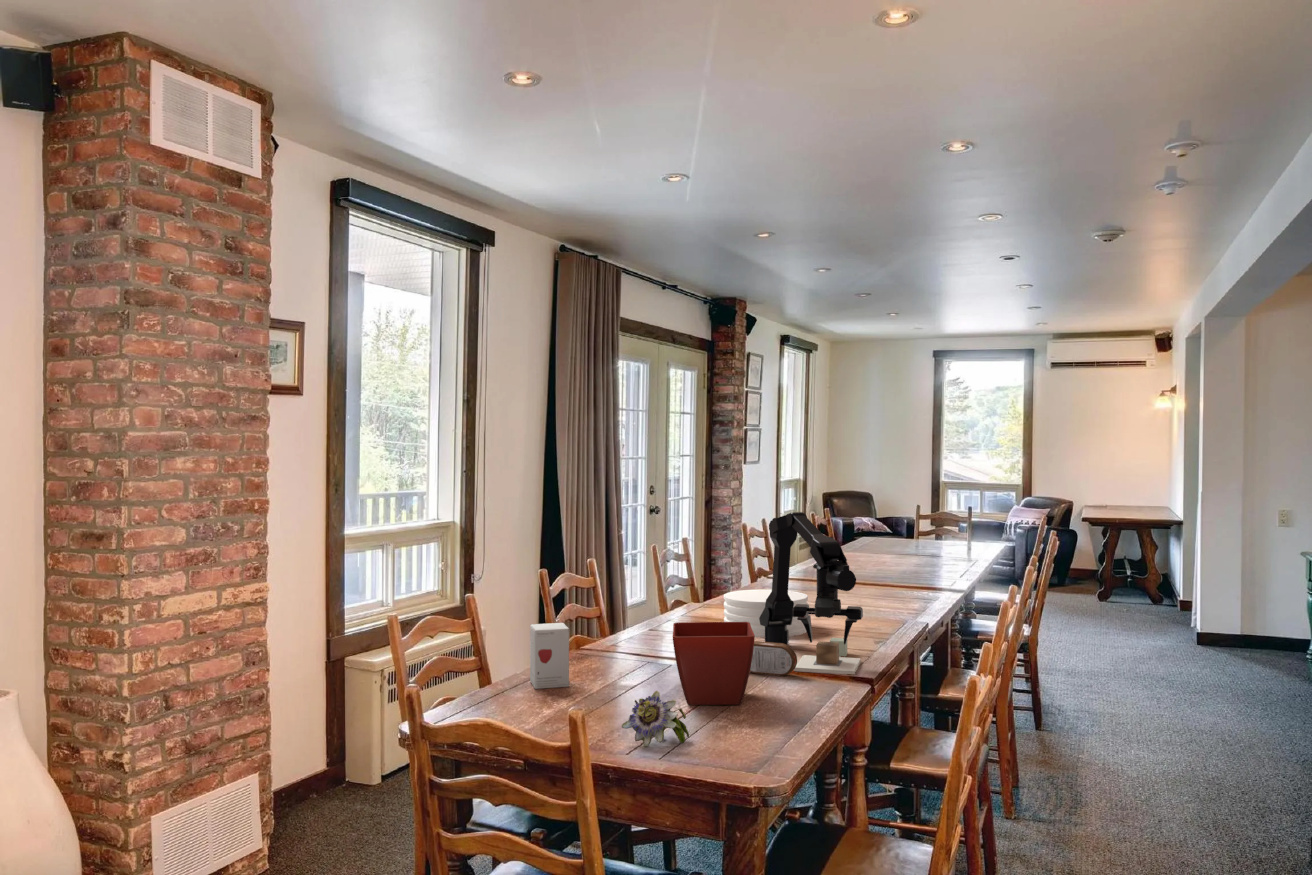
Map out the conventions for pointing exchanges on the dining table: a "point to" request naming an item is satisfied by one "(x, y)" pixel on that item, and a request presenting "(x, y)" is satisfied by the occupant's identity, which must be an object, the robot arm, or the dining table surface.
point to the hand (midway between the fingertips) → (827, 643)
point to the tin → (773, 659)
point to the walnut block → (827, 653)
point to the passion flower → (655, 720)
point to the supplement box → (549, 655)
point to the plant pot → (713, 660)
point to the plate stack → (758, 609)
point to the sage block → (841, 646)
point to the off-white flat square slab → (828, 665)
